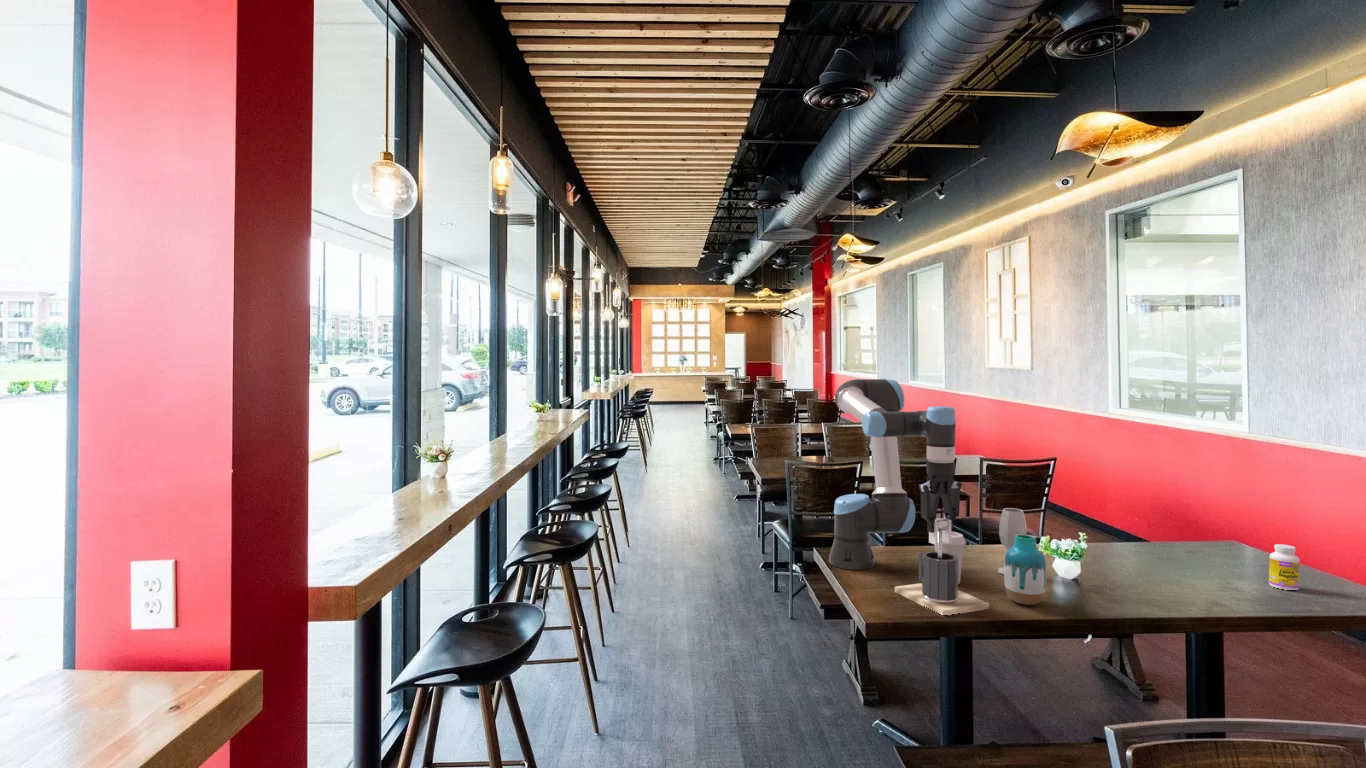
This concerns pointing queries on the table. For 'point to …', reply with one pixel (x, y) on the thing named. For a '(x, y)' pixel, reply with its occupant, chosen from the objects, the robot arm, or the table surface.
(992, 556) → the table surface
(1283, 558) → the supplement bottle
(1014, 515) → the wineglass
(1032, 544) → the vase
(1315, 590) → the table surface
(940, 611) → the serving board
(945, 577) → the fluted grey tumbler
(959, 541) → the coffee cup
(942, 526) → the plunger
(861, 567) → the robot arm
